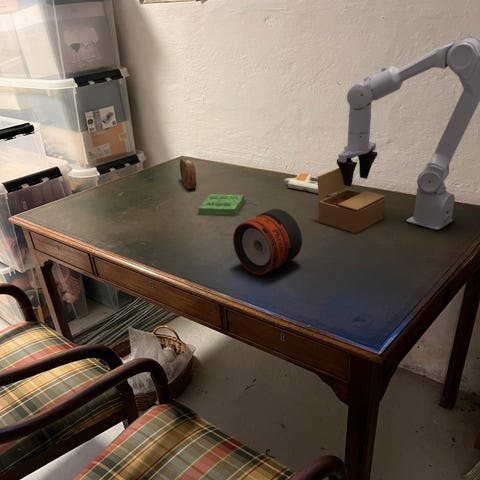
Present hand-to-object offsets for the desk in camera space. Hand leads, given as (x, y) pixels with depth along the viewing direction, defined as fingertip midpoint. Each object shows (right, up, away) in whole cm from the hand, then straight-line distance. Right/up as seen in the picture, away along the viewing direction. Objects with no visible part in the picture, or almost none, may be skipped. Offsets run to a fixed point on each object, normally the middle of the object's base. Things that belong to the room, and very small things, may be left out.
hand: (355, 181), depth 143 cm
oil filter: (-25, -26, -19) cm, 41 cm away
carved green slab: (-38, -4, +14) cm, 41 cm away
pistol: (-8, +5, +24) cm, 26 cm away
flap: (-6, 0, -1) cm, 7 cm away
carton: (-2, -11, 0) cm, 11 cm away
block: (-4, -9, +2) cm, 10 cm away
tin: (-50, +8, +34) cm, 61 cm away
